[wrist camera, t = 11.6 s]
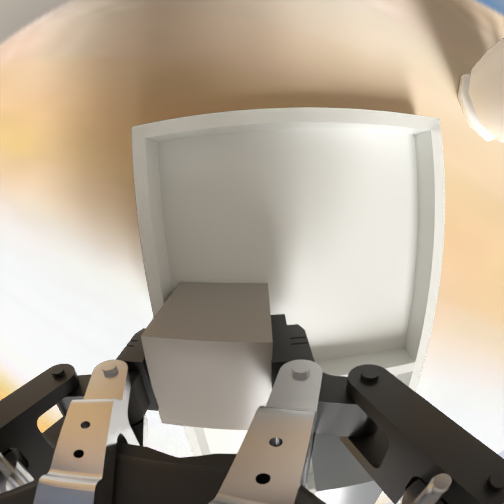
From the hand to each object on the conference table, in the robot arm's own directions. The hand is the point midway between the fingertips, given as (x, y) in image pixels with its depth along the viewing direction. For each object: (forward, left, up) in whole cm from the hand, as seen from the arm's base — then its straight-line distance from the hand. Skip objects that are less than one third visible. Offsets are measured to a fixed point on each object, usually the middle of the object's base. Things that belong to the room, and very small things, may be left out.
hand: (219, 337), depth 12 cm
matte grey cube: (-6, +10, -2) cm, 12 cm away
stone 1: (0, 0, -2) cm, 2 cm away
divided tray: (-4, +3, -2) cm, 5 cm away
